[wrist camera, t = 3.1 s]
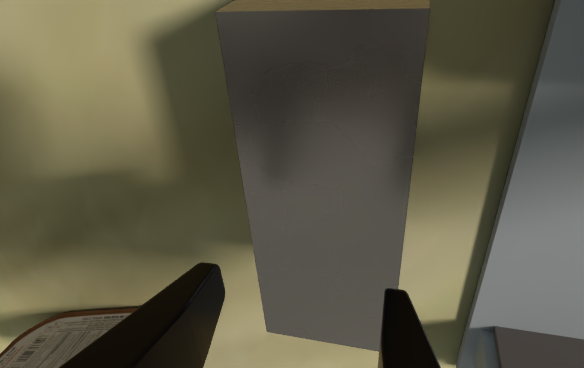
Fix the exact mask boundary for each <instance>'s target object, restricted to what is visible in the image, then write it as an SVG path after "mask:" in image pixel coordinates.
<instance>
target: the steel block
mask: <svg viewBox="0 0 584 368" xmlns="http://www.w3.org/2000/svg"><path fill="white" fill-rule="evenodd" d="M215 13H216V20H217V26H218V32H219V38H220V44H221V51H222V57H223V63H224V69H225V75H226V82H227V88H228V94H229V100H230V107H231V113H232V119H233V125H234V131H235V138H236V144H237V150H238V156H239V162H240V169H241V175H242V181H243V187H244V193H245V200H246V206H247V212H248V218H249V225H250V231H251V237H252V243H253V249H254V256H255V262H256V268H257V274H258V280H259V287H260V293H261V299H262V305H263V312H264V318H265V324H266V330H267V332H271V333H277V334H282V335H288V336H294V337H299V338H305V339H311V340H317V341H322V342H328V343H334V344H339V345H345V346H351V347H356V348H362V349H368V350H373V351H379V349H380V337H381V325H382V313H383V302H384V291H385V289H387V288H392V289H398V285H399V276H400V267H401V259H402V250H403V241H404V232H405V224H406V215H407V206H408V197H409V189H410V180H411V171H412V163H413V154H414V145H415V136H416V128H417V119H418V110H419V101H420V93H421V84H422V75H423V66H424V58H425V49H426V40H427V31H428V23H429V14H430V2H429V0H234V1H233V2H231V3H229V4H227V5H226V6H224V7H222V8H221V9H219V10H217V11H216V12H215Z"/></svg>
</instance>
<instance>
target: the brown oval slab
mask: <svg viewBox="0 0 584 368" xmlns="http://www.w3.org/2000/svg"><path fill="white" fill-rule="evenodd" d="M136 309H138V308H126V309H108V310H91V311H75V312H68V313H63V314H60V315H57V316H54V317H52V318H49V319H47V320H45V321H43V322H41V323H39V324H37V325H35V326H34V327H32V328H30V329H29V330H27V331H26V332H24V333H23V334H21V335H20V336H18V337H17V338H16V339H15V340H14V341H12V342H11V343H10V344H9V346H8V347H7V348H6V349H5V350H4V351H3V352H2V353H1V354H0V368H59V367H60V366H61V365H63V364H64V363H65V362H67V361H68V360H69V359H71V358H72V357H73V356H75V355H76V354H77V353H79V352H80V351H81V350H83V349H84V348H85V347H87V346H88V345H90V344H91V343H92V342H94V341H95V340H96V339H98V338H99V337H100V336H102V335H103V334H104V333H106V332H107V331H108V330H110V329H111V328H112V327H114V326H115V325H116V324H118V323H119V322H120V321H122V320H123V319H124V318H126V317H127V316H128V315H130V314H131V313H132V312H134V311H135V310H136Z"/></svg>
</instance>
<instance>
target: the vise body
mask: <svg viewBox="0 0 584 368" xmlns="http://www.w3.org/2000/svg"><path fill="white" fill-rule="evenodd" d="M456 368H584V0H555V3H554V6H553V10H552V14H551V17H550V21H549V25H548V28H547V32H546V36H545V39H544V43H543V47H542V50H541V54H540V58H539V61H538V65H537V69H536V72H535V76H534V80H533V83H532V87H531V91H530V94H529V98H528V102H527V105H526V109H525V113H524V116H523V120H522V124H521V127H520V131H519V134H518V138H517V142H516V145H515V149H514V153H513V156H512V160H511V164H510V167H509V171H508V175H507V178H506V182H505V186H504V189H503V193H502V197H501V200H500V204H499V208H498V211H497V215H496V219H495V222H494V226H493V230H492V233H491V237H490V241H489V244H488V248H487V252H486V255H485V259H484V263H483V266H482V270H481V274H480V277H479V281H478V285H477V288H476V292H475V296H474V299H473V303H472V307H471V310H470V314H469V318H468V321H467V325H466V329H465V332H464V336H463V340H462V343H461V347H460V351H459V354H458V358H457V362H456Z"/></svg>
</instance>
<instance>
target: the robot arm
mask: <svg viewBox="0 0 584 368" xmlns="http://www.w3.org/2000/svg"><path fill="white" fill-rule="evenodd" d="M224 298H225V288H224V283H223V279H222V275H221V270H220V267H219V266H218V265H217V264H212V263H205V262H201V263H199V264H197V265H195V266H194V267H193V268H191V269H190V270H189V271H187V272H186V273H185V274H183V275H182V276H181V277H179V278H178V279H177V280H175V281H174V282H173V283H171V284H170V285H169V286H167V287H166V288H165V289H163V290H162V291H161V292H159V293H158V294H157V295H155V296H154V297H153V298H151V299H150V300H149V301H147V302H146V303H145V304H143V305H142V306H140V307H139V308H138V309H136V310H135V311H134V312H132V313H131V314H130V315H128V316H127V317H126V318H124V319H123V320H122V321H120V322H119V323H118V324H116V325H115V326H114V327H112V328H111V329H110V330H108V331H107V332H106V333H104V334H103V335H102V336H100V337H99V338H98V339H96V340H95V341H94V342H92V343H91V344H90V345H88V346H87V347H85V348H84V349H83V350H81V351H80V352H79V353H77V354H76V355H75V356H73V357H72V358H71V359H69V360H68V361H67V362H65V363H64V364H63V365H61V366H60V367H59V368H203V366H204V363H205V360H206V357H207V354H208V351H209V348H210V345H211V341H212V338H213V335H214V331H215V328H216V325H217V322H218V318H219V315H220V312H221V309H222V305H223V302H224ZM378 368H441V367H440V365H439V363H438V361H437V358H436V356H435V354H434V352H433V349H432V347H431V345H430V343H429V340H428V338H427V336H426V334H425V331H424V329H423V327H422V325H421V322H420V320H419V318H418V316H417V313H416V311H415V309H414V307H413V304H412V302H411V300H410V298H409V295H408V294H407V292H406V291H405V290H400V289H392V288H387V289H385V291H384V302H383V313H382V325H381V337H380V349H379V361H378Z"/></svg>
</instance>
